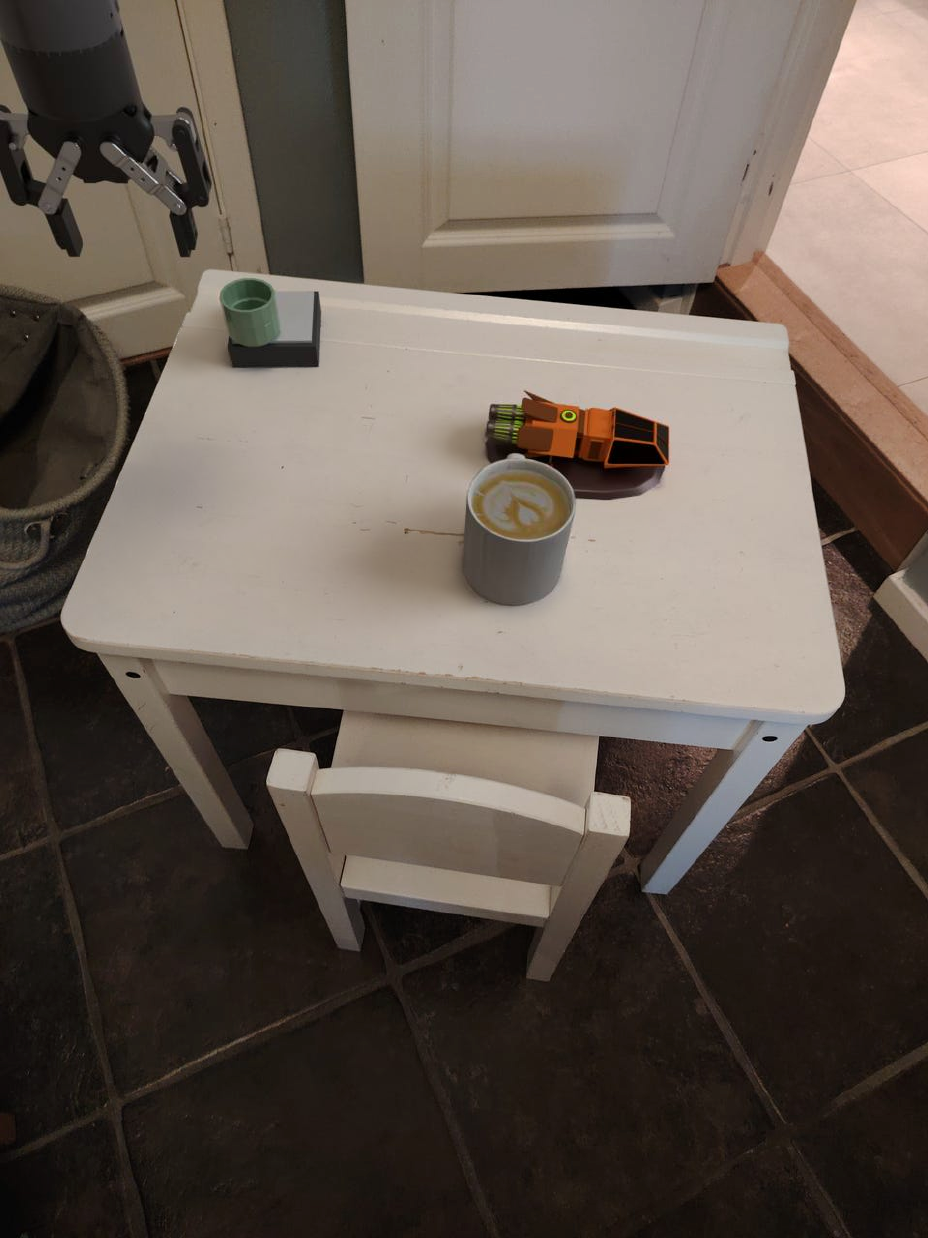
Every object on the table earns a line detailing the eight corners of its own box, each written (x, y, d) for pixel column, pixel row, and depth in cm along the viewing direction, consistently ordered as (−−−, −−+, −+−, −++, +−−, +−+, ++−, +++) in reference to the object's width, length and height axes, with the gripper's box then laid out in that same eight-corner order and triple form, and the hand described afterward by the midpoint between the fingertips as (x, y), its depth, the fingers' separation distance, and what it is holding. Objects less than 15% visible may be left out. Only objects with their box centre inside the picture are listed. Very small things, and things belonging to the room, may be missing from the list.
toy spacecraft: (665, 510, 88) (681, 467, 83) (478, 485, 89) (481, 441, 84) (665, 426, 95) (680, 382, 90) (491, 404, 96) (496, 359, 90)
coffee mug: (553, 614, 81) (569, 551, 72) (453, 595, 81) (456, 530, 73) (571, 510, 88) (587, 441, 79) (478, 493, 89) (484, 424, 80)
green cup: (226, 349, 94) (217, 311, 90) (230, 315, 97) (222, 277, 93) (279, 349, 94) (272, 311, 90) (282, 315, 98) (275, 277, 93)
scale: (232, 367, 97) (226, 343, 95) (239, 312, 103) (234, 288, 100) (318, 366, 98) (315, 343, 95) (321, 312, 103) (318, 288, 101)
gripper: (-77, 43, 50) (30, 281, 64) (165, 48, 51) (219, 280, 65) (-44, -11, 54) (49, 223, 68) (179, -6, 55) (227, 223, 69)
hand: (132, 251), depth 66 cm, fingers open, 8 cm apart
